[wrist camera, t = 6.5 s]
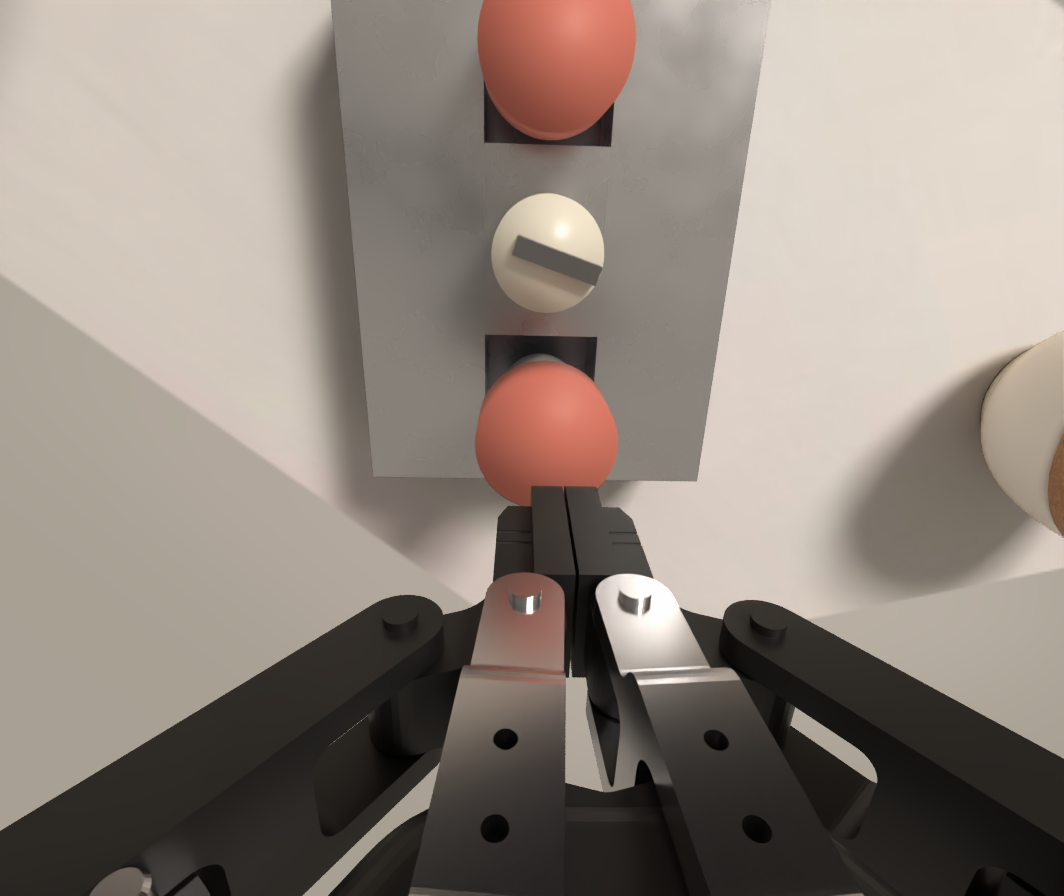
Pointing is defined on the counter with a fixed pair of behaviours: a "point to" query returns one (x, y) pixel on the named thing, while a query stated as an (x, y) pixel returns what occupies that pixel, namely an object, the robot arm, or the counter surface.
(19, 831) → the robot arm
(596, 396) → the knob outer
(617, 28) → the knob inner
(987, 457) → the lidded jar
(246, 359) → the counter surface
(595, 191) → the panel
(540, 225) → the dial
